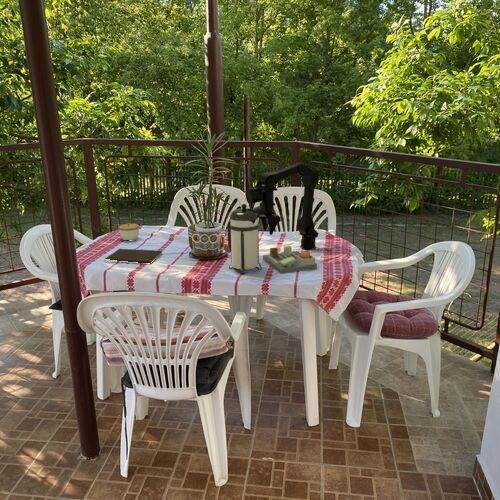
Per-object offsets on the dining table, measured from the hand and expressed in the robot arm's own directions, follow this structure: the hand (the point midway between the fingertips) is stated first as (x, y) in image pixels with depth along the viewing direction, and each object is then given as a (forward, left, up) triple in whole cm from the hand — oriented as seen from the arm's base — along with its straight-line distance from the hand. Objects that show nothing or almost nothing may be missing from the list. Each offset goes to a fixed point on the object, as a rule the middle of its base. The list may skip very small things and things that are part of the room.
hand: (267, 232), depth 247 cm
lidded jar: (+59, -55, -12) cm, 82 cm away
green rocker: (-1, +21, -8) cm, 23 cm away
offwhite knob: (-7, +7, -10) cm, 14 cm away
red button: (-10, +21, -8) cm, 25 cm away
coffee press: (+17, +12, -12) cm, 24 cm away
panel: (-5, +14, -12) cm, 19 cm away
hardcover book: (+61, -22, -13) cm, 66 cm away
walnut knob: (0, +7, -10) cm, 12 cm away
